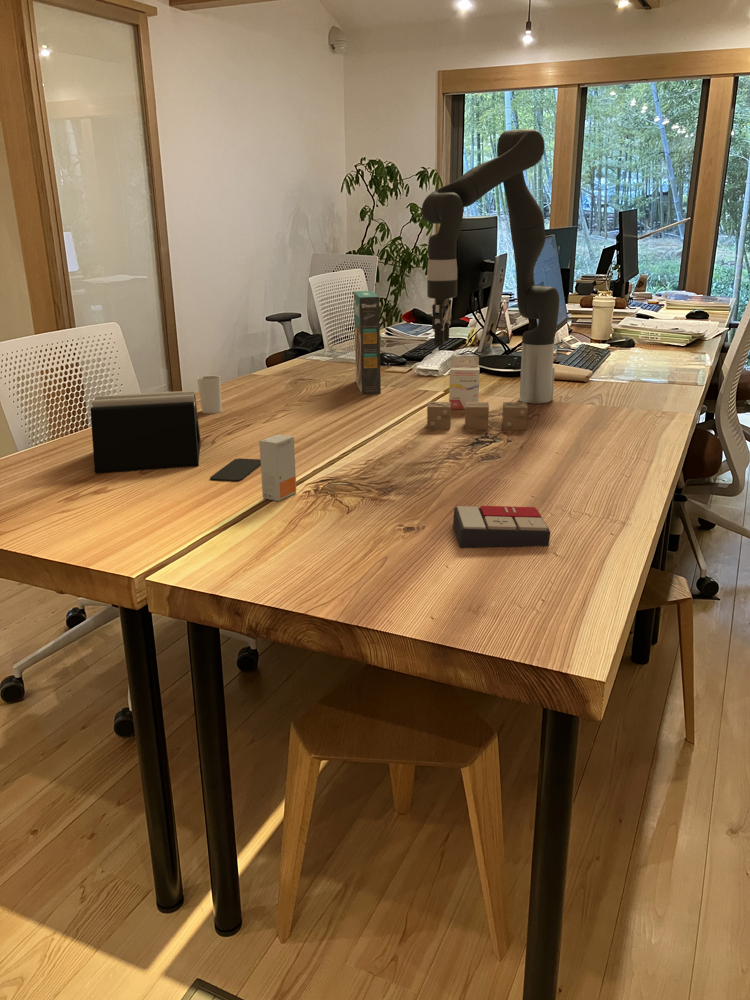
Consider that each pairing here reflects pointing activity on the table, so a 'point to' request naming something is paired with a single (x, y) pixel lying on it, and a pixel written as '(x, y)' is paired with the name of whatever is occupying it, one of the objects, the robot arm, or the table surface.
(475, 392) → the ink cartridge box
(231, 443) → the table surface
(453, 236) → the robot arm
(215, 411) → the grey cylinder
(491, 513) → the button keypad
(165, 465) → the device stand
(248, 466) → the phone
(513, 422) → the two pip cube
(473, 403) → the plain walnut cube
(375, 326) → the cake mix box
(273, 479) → the skincare box
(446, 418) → the three pip cube
